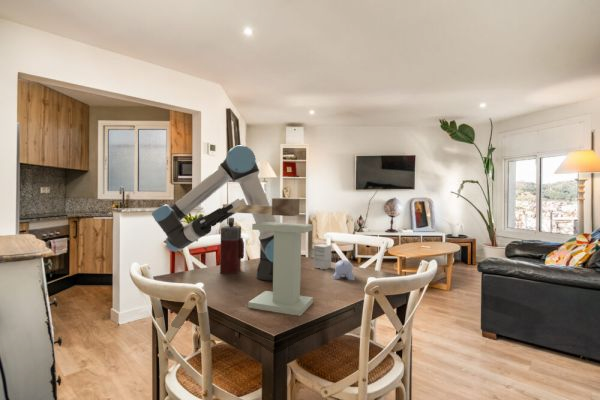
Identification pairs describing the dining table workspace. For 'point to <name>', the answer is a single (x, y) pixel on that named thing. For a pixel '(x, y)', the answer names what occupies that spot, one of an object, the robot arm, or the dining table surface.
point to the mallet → (272, 207)
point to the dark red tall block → (231, 248)
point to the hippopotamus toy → (343, 270)
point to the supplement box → (322, 256)
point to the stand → (284, 270)
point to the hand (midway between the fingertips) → (242, 201)
